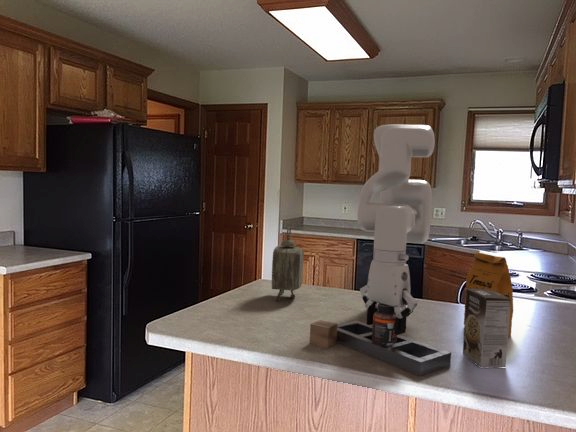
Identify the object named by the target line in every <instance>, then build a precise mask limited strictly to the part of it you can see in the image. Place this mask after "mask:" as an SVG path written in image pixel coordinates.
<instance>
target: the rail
mask: <svg viewBox="0 0 576 432" xmlns="http://www.w3.org/2000/svg"><path fill="white" fill-rule="evenodd" d="M337 324H338V326H337V343H338V344H341V345H343V346H346V347H348V348H351V349H353V350H355V351H357V352H360V353H362V354H365V355H368V356H370V357H372V358H375V359H378V360H379V361H382V362H384V363H386V364H390V365H391V366H394V367H396V368H398V369H402V370H404V371H406V372H409V373H410V374H411V373H412V374H414V375H416V376H419V377H422V376H425V375H428V374H430V373H433V372H436V371H438V370H442V369H444V368H448V367H450V366H451V359H452V352H450V351H447V350H445V349H442V348H439V347H436V346H433V345H431V344H427V343H425V342H421V341H418V340H415V339H412V338H409V337H407V336H404V335H402V334H399V335H397V343H396V344H392V345H388V346H386V345H383V344H380V343H378V342H375V341H372V329H373V324H372V325H367V322H363V321H359V320H353V321H349V322H348V321H347V322H344V323H337Z"/></svg>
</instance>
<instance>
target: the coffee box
mask: <svg viewBox="0 0 576 432" xmlns="http://www.w3.org/2000/svg"><path fill="white" fill-rule="evenodd" d="M466 290H467V293H466V309H465V308H464V312H465V325H464V329H463V342H462V343H463V344H462V355H464V356H465V357H466V358H467V357H468V358H467V359H469V360H470V361H471V360H472V361H473V364H475V363H476V364H477V365H478V366H477V365H476V364H475V365H476V366H477V367H479V366H480V367H506V368H507V357H508V356H507V355H508V354H507V353H508V344H509V343H508V342H509V337H508V332H509V320H510V308H511V298H508V297H506V296H504V295H502V294H499V293H497V292H495V291H493V290H484V289H466V288H465V291H466ZM472 361H471V362H472ZM480 367H479V368H480Z"/></svg>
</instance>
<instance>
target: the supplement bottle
mask: <svg viewBox="0 0 576 432" xmlns="http://www.w3.org/2000/svg"><path fill="white" fill-rule="evenodd" d="M394 311H395V309H394V307H391V306H388V305H384V304H381V303H379V304H378V311H377V312H375V313H374V315H373V324H372V326H373V329H372V341H375V342H378V343H380V344H383V345H386V346H388V345H392V344H396V343H397V335H396V334H395V318H396V317H398V316H397V314H396V313H395V312H394Z"/></svg>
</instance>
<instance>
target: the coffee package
mask: <svg viewBox="0 0 576 432" xmlns="http://www.w3.org/2000/svg"><path fill="white" fill-rule="evenodd" d="M473 257H474V258H475V260H474V262H473V264H472V266H471V268H470V270H469V272H468V274H467V276H466V278H465V295H464V298H465V300H464V310H465V309H466V293H467V290H466V289H484V290H493V291H495V292H497V293H499V294H502V295H504V296H506V297H508V298H511V308H510V320H509V332H508V338H509V337H512V327H513V326H512V324H513V316H514V297H513V296H514V295H513V293H514V291H513V290H514V289H513V282H512V279H511V274H510V269H509V266H508V263H507V262H508V261H507V259H506V257H503V256H496V255H492V254H487V253H483V252H479V251H477V252H475V253H474V256H473ZM463 316H464V318H463V319H464V320H463V325H464V326H465V311H464V313H463Z"/></svg>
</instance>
